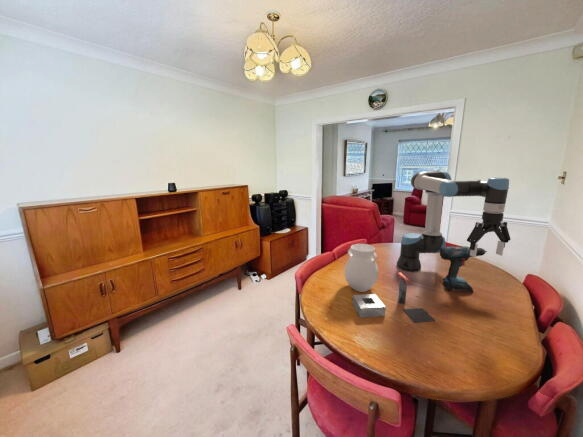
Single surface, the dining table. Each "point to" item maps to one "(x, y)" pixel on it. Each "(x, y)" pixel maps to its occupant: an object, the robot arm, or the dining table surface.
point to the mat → (418, 315)
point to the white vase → (361, 267)
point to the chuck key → (402, 288)
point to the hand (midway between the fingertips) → (485, 255)
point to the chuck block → (368, 305)
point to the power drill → (457, 267)
